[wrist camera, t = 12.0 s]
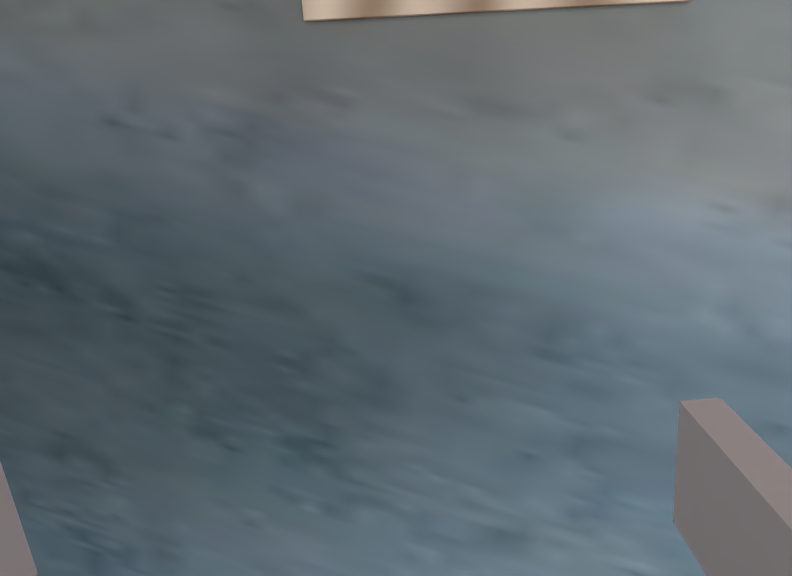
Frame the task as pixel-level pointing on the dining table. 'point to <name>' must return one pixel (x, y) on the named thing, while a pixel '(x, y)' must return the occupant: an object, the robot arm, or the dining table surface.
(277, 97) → the dining table surface
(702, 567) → the robot arm
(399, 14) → the socket board
